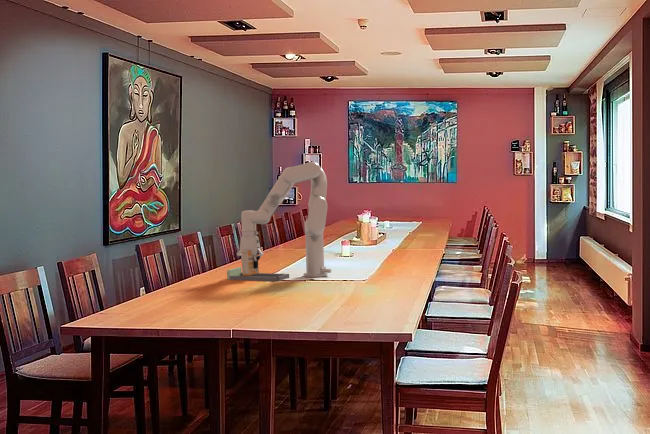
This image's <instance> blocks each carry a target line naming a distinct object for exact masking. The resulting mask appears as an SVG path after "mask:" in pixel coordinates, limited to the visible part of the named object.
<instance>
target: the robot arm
mask: <svg viewBox="0 0 650 434" xmlns="http://www.w3.org/2000/svg"><path fill="white" fill-rule="evenodd" d="M309 180H310V193H309V199H308V204H307V206H308V213H307V219H306V220H305V222H304V234H305V235H304V236H305V237H304V239H305V263H306V264H305V266H306V267H305V268H306V269H305V271H306V272H304V273H303V276H304V277H306V278H318V277H319V278H320V277H326V276H327V277H328V273H329V274H331V273H332V269H331V268H327V266H325V250H324V249H325V248H324V231H325V228H326V221H327V214H328V206H329V205H328V202H327V190H328V179H327V175H326V172H325V171H324V170H323V168H322V167H321V165H320V164H319V163H318V162H316V161H309V162H307V163H302V164H299V165H294V166H289V167H288V166H287V167H286V168H284V170H283V171H282V172H281V174H280V176H278V179H277V180H276V182H275V183H274V184H273V186H272V188H271V189H270V191H269V193H268V194H267V196H266V198H265V199H264V201H263V202H262V203H261V205H260V207H259V208H258V209H257V210H251V209H249V210H247V209H246V210H243V211H241V215H240V216H241V236H240V240H239V241H240V242H239V250H238V251H237V253H236V256H237V257H239V258H238V259H240V260H241V251H244V250H250V251H251V255H252V256H253V257H254V260H255V261H254V269H256V268H258V267H259V260H260V259H261V258H262V257H263V256H264V252H262V250H261V245H260V239H259V236H257V235H259V231H257V224H259V225H266V224H268V223H269V222H271V218H272V216H273V214H274V212H275V211H276V210H277V207H279V206H280V204H281V203H282V202H283V201H285V199H286V197H287V196H288V194H289V193H290V192H291V190H292V188H293V187H294V185H295V184H298V183H301V182H304V181H309Z"/></svg>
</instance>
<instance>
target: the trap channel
mask: <svg viewBox="0 0 650 434" xmlns="http://www.w3.org/2000/svg"><path fill="white" fill-rule="evenodd" d="M226 275H227V277H226V279H227V281H229V280H231V281H253V282H254V281H256V282H257V281H259V282H262V281H263V282H280V281H284V280H286V279H289V278H290V274H289V273H275V272H274V273H271V272H270V273H267V272H266V273H265V272H263V273H262V272H259V273H257V274H253V275H250V276H245V275H243V274H242V266H238V267H235V268H230V269H227V270H226Z"/></svg>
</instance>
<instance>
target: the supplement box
mask: <svg viewBox="0 0 650 434" xmlns="http://www.w3.org/2000/svg"><path fill="white" fill-rule="evenodd" d="M240 260H241V271H242V274H243V275H245V276H250V275H253V274H257V273H260V269H259V266H258V268H256V269H254V261H255V260H254V257H253V256H252V255H251V251H250V250H244V251H241V259H240Z"/></svg>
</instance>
